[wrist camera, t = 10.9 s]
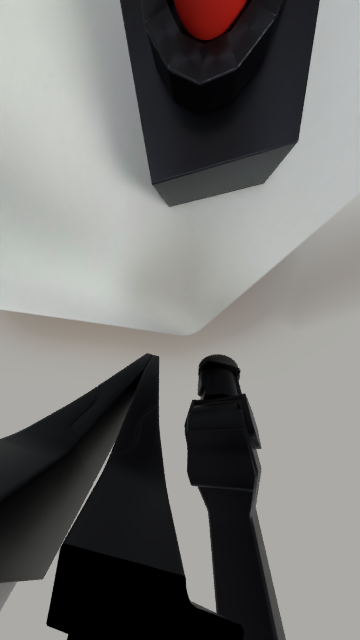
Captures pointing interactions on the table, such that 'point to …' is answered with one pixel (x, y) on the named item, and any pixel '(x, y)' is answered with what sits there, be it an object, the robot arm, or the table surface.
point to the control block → (219, 94)
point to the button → (208, 16)
